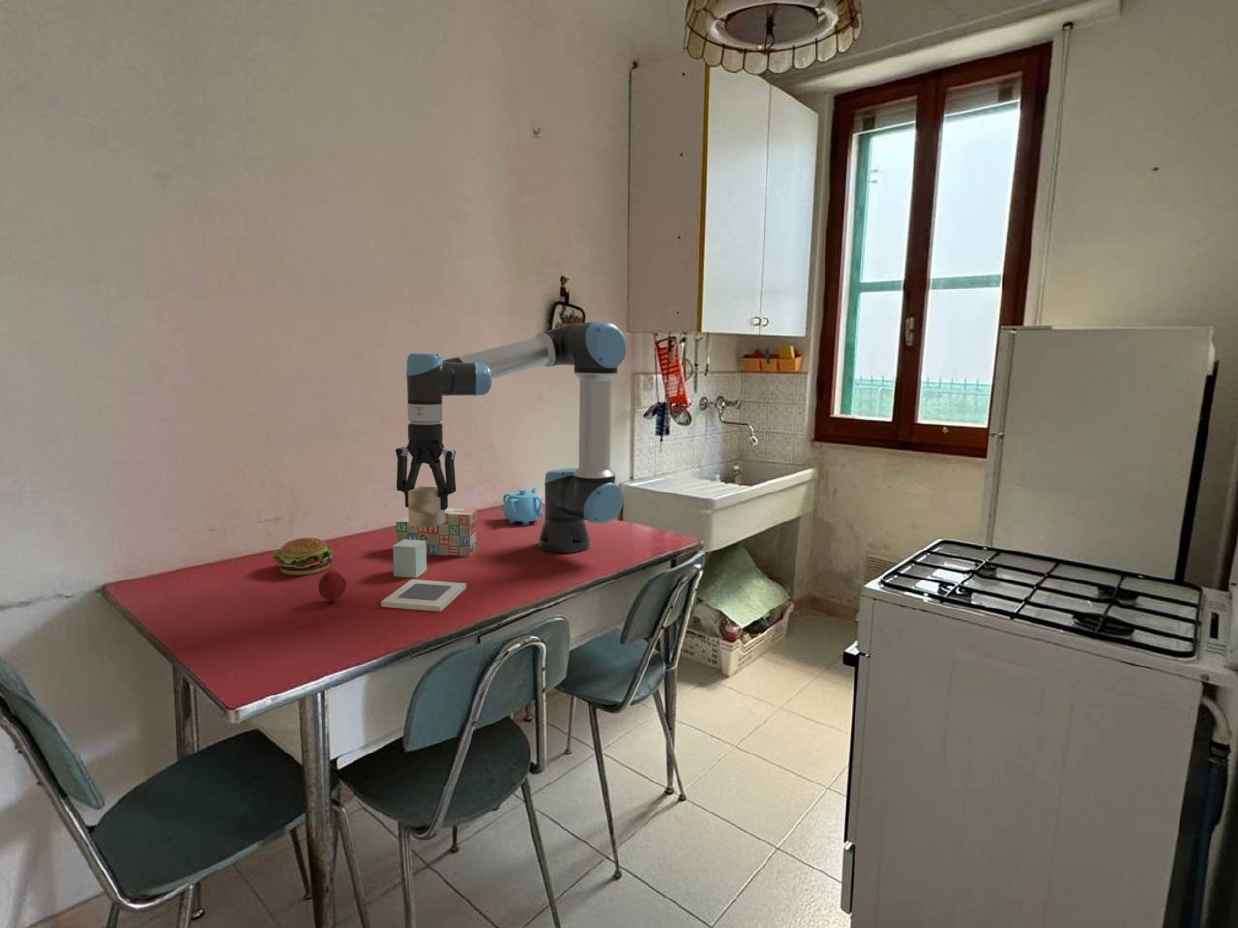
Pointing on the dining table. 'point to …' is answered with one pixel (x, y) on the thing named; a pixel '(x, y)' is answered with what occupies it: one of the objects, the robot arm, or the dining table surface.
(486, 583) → the dining table surface
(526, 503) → the teapot
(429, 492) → the beech block
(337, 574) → the onion
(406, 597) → the white square base plate
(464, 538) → the stack of blocks
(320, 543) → the food
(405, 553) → the sage block
